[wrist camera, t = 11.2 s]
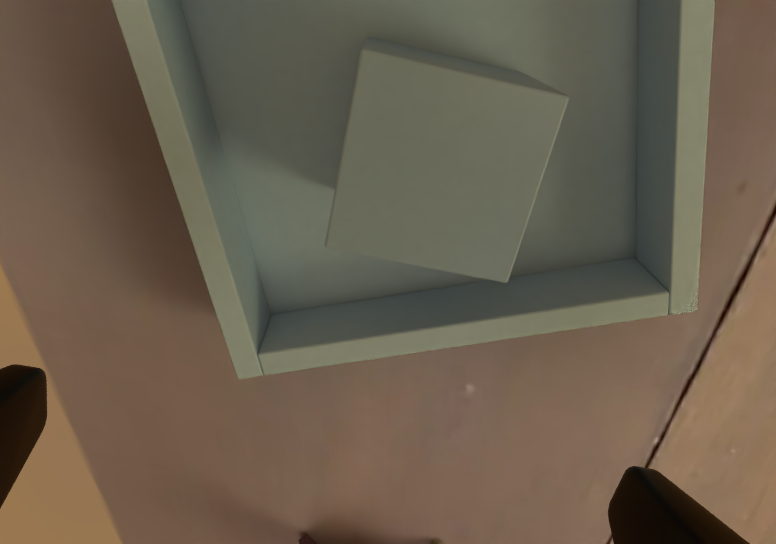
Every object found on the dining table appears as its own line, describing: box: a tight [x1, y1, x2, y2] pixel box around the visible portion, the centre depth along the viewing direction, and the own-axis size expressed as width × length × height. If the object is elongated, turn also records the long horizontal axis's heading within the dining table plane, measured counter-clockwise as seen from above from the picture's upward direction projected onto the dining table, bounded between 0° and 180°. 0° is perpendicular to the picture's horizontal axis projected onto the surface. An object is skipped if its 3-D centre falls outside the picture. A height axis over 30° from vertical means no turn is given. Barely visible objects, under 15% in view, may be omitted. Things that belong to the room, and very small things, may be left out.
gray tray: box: [112, 0, 715, 379], centre depth 16 cm, size 14×12×3 cm
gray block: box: [325, 37, 569, 283], centre depth 15 cm, size 4×4×4 cm
